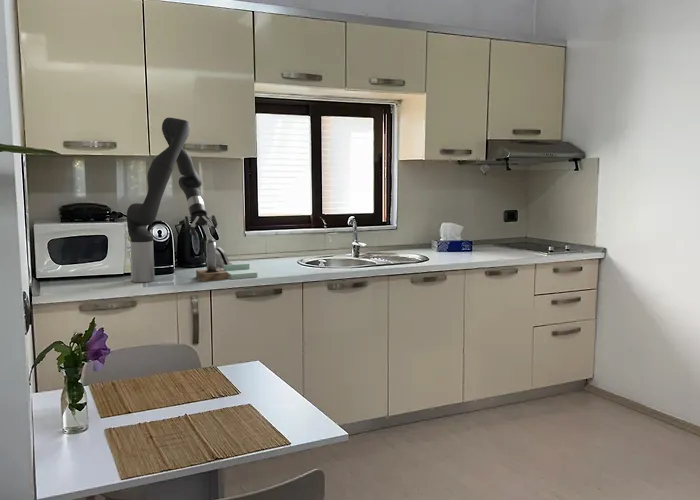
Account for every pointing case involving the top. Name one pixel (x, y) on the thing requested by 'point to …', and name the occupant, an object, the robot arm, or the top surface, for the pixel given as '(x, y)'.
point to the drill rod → (211, 255)
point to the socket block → (211, 275)
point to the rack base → (239, 271)
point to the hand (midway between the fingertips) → (203, 234)
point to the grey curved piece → (221, 257)
